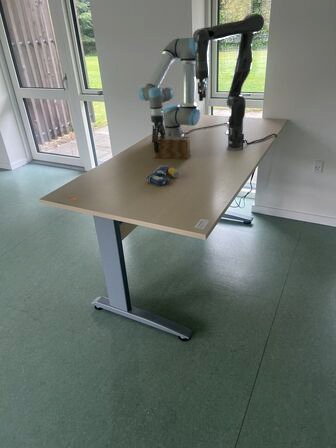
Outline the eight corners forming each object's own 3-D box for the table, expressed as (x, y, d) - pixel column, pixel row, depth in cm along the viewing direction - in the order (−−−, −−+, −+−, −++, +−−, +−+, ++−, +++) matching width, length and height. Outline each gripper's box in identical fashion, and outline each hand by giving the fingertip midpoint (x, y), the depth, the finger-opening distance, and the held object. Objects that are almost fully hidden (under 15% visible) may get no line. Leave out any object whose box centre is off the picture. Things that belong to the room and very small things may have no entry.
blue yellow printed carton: (184, 172, 190) (161, 169, 197) (183, 165, 188) (160, 163, 195) (168, 188, 175) (143, 185, 181) (167, 180, 173) (142, 177, 179)
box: (155, 158, 215) (153, 139, 209) (157, 154, 220) (155, 136, 214) (188, 158, 209) (187, 139, 203) (190, 155, 214) (189, 136, 207)
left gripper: (156, 120, 192) (159, 155, 203) (168, 110, 212) (170, 142, 223) (144, 120, 194) (148, 155, 205) (157, 110, 214) (160, 142, 225)
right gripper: (206, 70, 182) (206, 101, 191) (210, 67, 194) (210, 96, 202) (192, 71, 185) (193, 102, 193) (197, 68, 196) (198, 96, 204)
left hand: (159, 148), depth 214 cm, fingers open, 13 cm apart
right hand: (202, 99), depth 198 cm, fingers open, 8 cm apart
